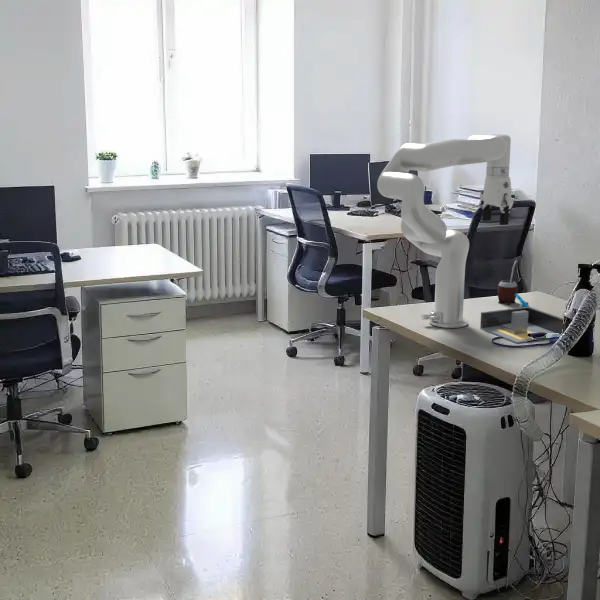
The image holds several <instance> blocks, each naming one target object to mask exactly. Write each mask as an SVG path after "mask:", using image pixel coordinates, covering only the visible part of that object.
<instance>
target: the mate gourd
mask: <svg viewBox="0 0 600 600" xmlns="http://www.w3.org/2000/svg"><path fill="white" fill-rule="evenodd" d="M517 261H518V260H515V261H514V263H513V266H512V268H511V273H510V274H511V275H510V279H509V280H508V279H504V280H501V281H499V283H498V285H497V297H498V304H506V305H508V306H510V305H511V304H516V299H517V297H516V296H515V294H516V293H517V294H518V291H519V288H518V284H517V282H515V280H513V275H514V271H515V266H516V263H517Z"/></svg>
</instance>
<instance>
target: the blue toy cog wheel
mask: <svg viewBox="0 0 600 600" xmlns="http://www.w3.org/2000/svg"><path fill="white" fill-rule="evenodd" d="M515 296H516V299H517V300H519V302H520V304H519V307H518V308H521V307H531V306H529V302H528V301H525V300H524V299H523V298H522V297H521V296H520V295H519V294H518V292H517V293H516V294H515Z"/></svg>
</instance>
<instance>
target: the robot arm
mask: <svg viewBox="0 0 600 600" xmlns="http://www.w3.org/2000/svg"><path fill="white" fill-rule="evenodd" d="M511 143H512V139H511V137H510V136H509V135H508V134H491V135H489V134H474V135H470V136H469V137H468V138H467V139H465V138H463V139H462V138H450V139H449V138H448V139H445V140H439V141H434V142H427V143H415V142H406V143H404V144H403V145H402V146H400V147H399V148H398V149H397V151H396V152H395V153H394V154H393V156H392V157H391V159H390V160H389V162H388V163H387V164H386V166H385V167H384V168H383V170H382V172H381V173H380V175H379V177H378V179H377V185H376V187H377V190H378V192H379V194H380V195H381V196H383V197H385V198H388V199H394V200H400V201H401V211H400V218H401V222H400V230H401V231H400V232H402V233H401V234H402V235H403V236H404V238H405V239H406V240H408V241H409V242H410V243H411V244H412V245H414V246H415V247H416V248H418V249H419V250H420V251H422V252H423V253H424V254H428V255H430V256H433V257H439V258H440V261H439V263H438V265H437V266H436V269H435V283H434V284H435V285H434V286H435V287H434V290H435V291H434V309H431V312H429V313H423V314H421V320H423V321H427V320H429V324H430V325H431V326H434V327H437V328H438V327H439V328H446V329H457V328H463V327H466V326H467V325H468V319H466V318H464V305H465V304H464V300H465V299H464V298H465V297H464V296H465V276H466V265H467V264H466V263H467V257H468V253H469V249H470V240H469V238H468V237H467V235H465V233H463V232H461V231H459V230H455V229H449V228H448V226H447V225H446V223H445V221H444V220H443V219H442V218H441V217H440V216H438V215H437V214H436V213H435V212H433V211H432V210H431V209H430V208H428V206H426V204H425V202H424V199H425V197H424V196H425V184H424V182H423V180H422V178H421V177H419V176H418V175H416V174H414V173H409V172H410V171H417V172H429V171H434V170H439V169H445V168H449V167H455V166H466V165H473V164H481V163H486V169H485V170H486V171H485V173H486V174H485V179H484V186H483V193H481V194H480V195H479V198H480V204H481V209H482V217H481V219H482V221H483V222H488V221H489V222H490V221H491V220H492V206H493V207H497V208H498V207H499V210H500V213H499V225H500V226H504V225H506V226H508V224H509V219H510V218H509V217H510V213H511V210H512V208H513V205H514V203H515V202H514V200H513V199H512V182H511V177H510V162H511V161H510V160H511Z"/></svg>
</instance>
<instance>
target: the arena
mask: <svg viewBox="0 0 600 600" xmlns="http://www.w3.org/2000/svg"><path fill="white" fill-rule="evenodd" d="M522 310H525V311H528V328H527V333H522V334H515V335H514V334H512V333H509V332H507V331H504V330H502V329H501V325H504V324H511V319H512V312H515V311H522ZM564 319H565V318H562V317H560V316H557V315H554V314H551V313H548V312H545V311H542V310H540V309H536V308H534V307H531V306H530V307H521V308H519V307H514V308H506V309H499V310H498V309H497V310H492V311H491V310H490V311H483V312H480V327H479V328H480V329H481V330H483V331H485V332H488V333H490V334H492V335H495V336H497V337H500V338H502V337H503V338H502V339H504V338H505V339H504V340H506V339H507V341H509V342H512V343H514V344H516V343H518V344H524V343H523V342H525V343H528V342H527V341H531V340H536V339H531V338H530V337H529V336H527V334H529V333H532V332H545V333H559V334H561V333H562V329H563V320H564Z"/></svg>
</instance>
